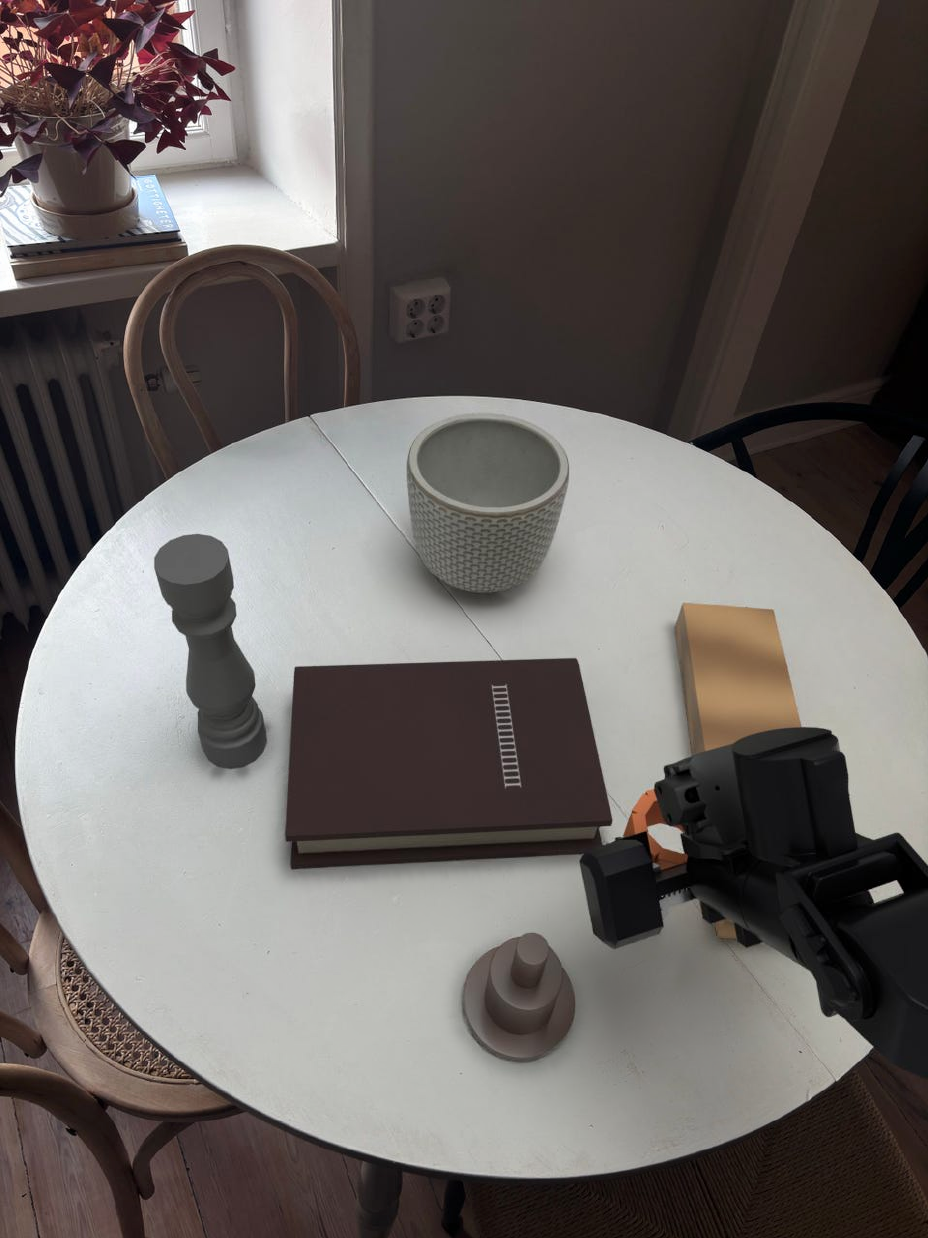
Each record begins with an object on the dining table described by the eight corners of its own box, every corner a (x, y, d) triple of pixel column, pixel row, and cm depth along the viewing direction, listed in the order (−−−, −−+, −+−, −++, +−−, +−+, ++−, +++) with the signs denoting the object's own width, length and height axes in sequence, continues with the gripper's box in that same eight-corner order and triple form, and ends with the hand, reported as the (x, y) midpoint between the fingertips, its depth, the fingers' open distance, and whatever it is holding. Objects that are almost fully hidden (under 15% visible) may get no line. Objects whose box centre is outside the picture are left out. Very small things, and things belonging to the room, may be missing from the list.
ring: (723, 875, 68) (738, 849, 65) (645, 901, 66) (656, 876, 63) (682, 804, 72) (695, 776, 69) (608, 826, 70) (617, 799, 67)
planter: (526, 640, 99) (543, 532, 88) (382, 595, 103) (379, 486, 91) (569, 542, 110) (589, 434, 99) (437, 504, 114) (442, 396, 102)
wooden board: (832, 946, 78) (849, 927, 75) (717, 937, 78) (729, 918, 75) (762, 633, 102) (773, 609, 99) (674, 626, 102) (682, 602, 99)
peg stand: (596, 1011, 73) (621, 958, 65) (514, 1087, 69) (529, 1041, 61) (521, 927, 78) (536, 867, 69) (440, 994, 73) (445, 939, 65)
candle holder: (280, 742, 89) (248, 559, 70) (228, 780, 86) (180, 599, 67) (241, 706, 92) (201, 520, 73) (189, 741, 88) (133, 557, 70)
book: (567, 684, 96) (575, 648, 91) (601, 853, 83) (612, 820, 78) (299, 693, 93) (294, 657, 89) (291, 869, 80) (285, 836, 76)
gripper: (889, 729, 56) (746, 700, 71) (617, 809, 51) (526, 760, 66) (917, 901, 57) (770, 836, 72) (652, 995, 52) (554, 904, 67)
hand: (658, 831), depth 69 cm, fingers closed on ring, 6 cm apart
